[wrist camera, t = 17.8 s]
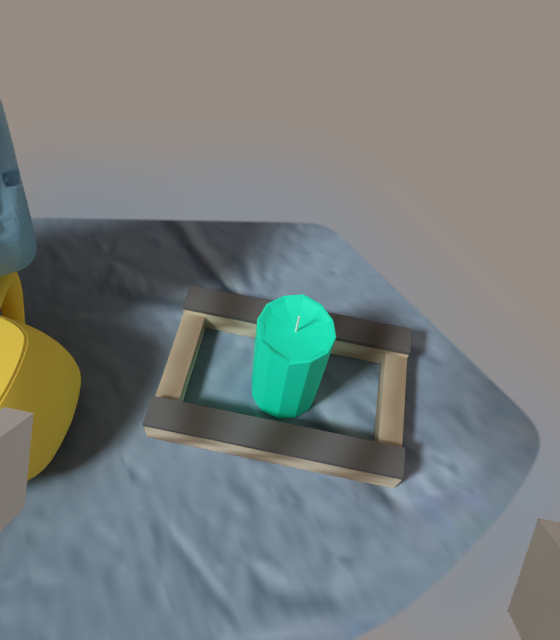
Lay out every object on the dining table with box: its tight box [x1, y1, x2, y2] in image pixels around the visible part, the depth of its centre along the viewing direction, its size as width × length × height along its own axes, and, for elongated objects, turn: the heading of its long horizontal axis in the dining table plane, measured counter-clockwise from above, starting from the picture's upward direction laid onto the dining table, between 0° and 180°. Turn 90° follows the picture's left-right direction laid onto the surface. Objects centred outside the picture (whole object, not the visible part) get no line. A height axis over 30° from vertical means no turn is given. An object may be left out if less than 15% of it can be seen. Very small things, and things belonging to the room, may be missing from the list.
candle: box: [252, 295, 336, 418], centre depth 43 cm, size 6×6×12 cm
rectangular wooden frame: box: [143, 285, 412, 488], centre depth 47 cm, size 21×14×3 cm, turn 80°
